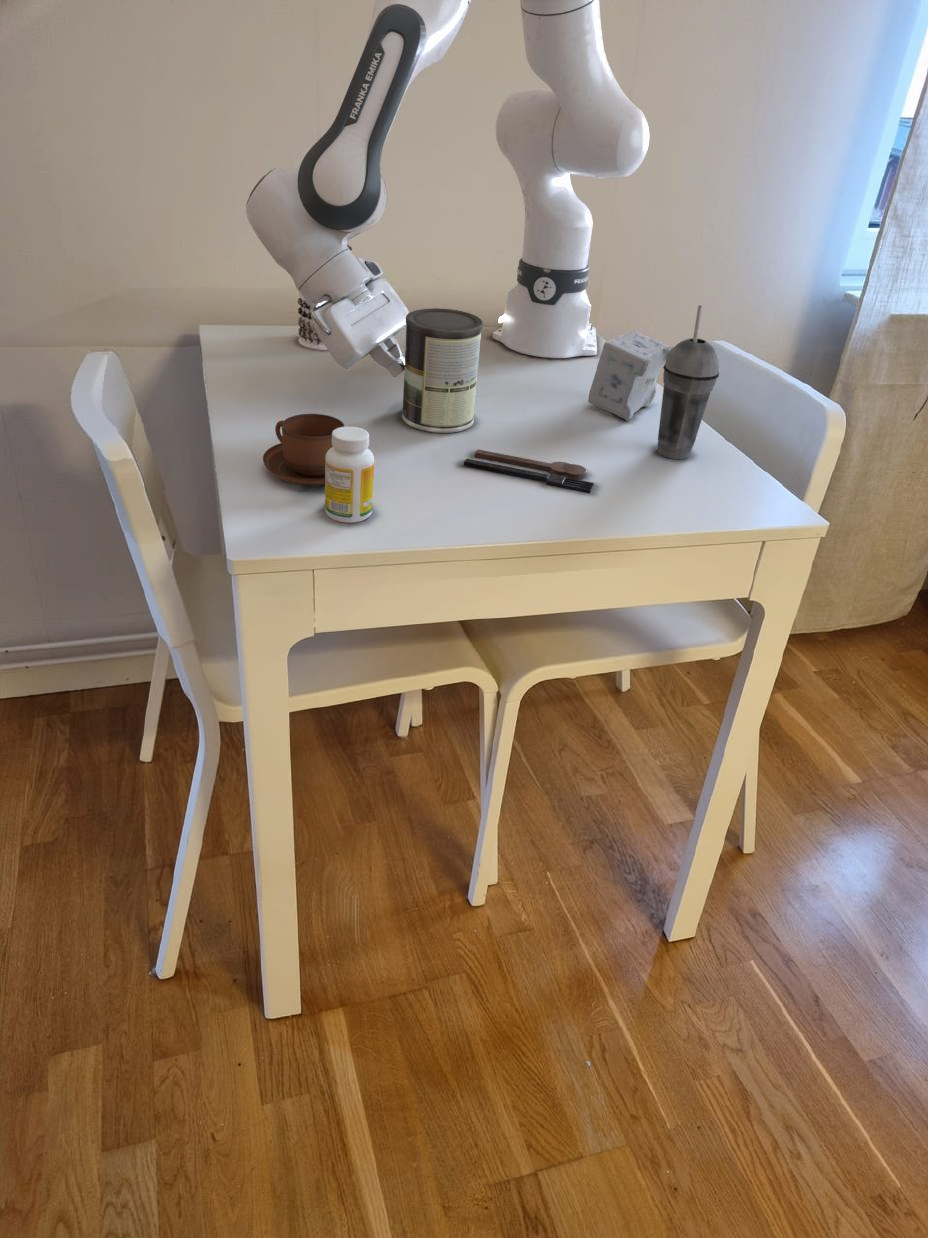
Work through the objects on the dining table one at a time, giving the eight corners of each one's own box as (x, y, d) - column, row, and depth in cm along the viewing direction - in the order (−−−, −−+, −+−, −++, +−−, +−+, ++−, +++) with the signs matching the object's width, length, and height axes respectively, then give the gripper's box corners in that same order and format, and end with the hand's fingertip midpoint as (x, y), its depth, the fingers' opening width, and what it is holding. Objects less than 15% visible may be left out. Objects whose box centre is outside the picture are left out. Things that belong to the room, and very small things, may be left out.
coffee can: (387, 421, 129) (391, 319, 122) (424, 400, 137) (429, 303, 130) (452, 439, 126) (461, 335, 118) (486, 417, 134) (496, 318, 126)
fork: (467, 460, 120) (467, 456, 120) (593, 485, 117) (594, 481, 117) (461, 467, 118) (462, 463, 118) (589, 493, 115) (590, 488, 115)
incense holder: (634, 424, 136) (647, 353, 130) (584, 409, 140) (595, 339, 134) (662, 407, 143) (676, 339, 137) (614, 393, 147) (625, 326, 141)
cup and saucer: (246, 482, 110) (243, 433, 107) (288, 446, 120) (287, 400, 116) (341, 501, 108) (341, 452, 104) (376, 463, 118) (378, 416, 114)
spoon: (479, 450, 123) (479, 445, 123) (588, 471, 120) (588, 466, 120) (472, 459, 121) (473, 454, 120) (583, 481, 118) (584, 476, 118)
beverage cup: (710, 455, 128) (745, 307, 118) (681, 467, 124) (714, 315, 113) (666, 437, 132) (696, 293, 122) (636, 449, 128) (665, 301, 117)
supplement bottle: (332, 526, 103) (332, 444, 97) (319, 505, 107) (319, 425, 101) (379, 521, 105) (381, 440, 99) (364, 500, 109) (366, 422, 103)
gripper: (321, 290, 116) (391, 381, 119) (381, 259, 133) (441, 339, 136) (289, 320, 119) (358, 408, 123) (351, 286, 136) (411, 364, 139)
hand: (402, 371), depth 129 cm, fingers closed, pressing on coffee can
